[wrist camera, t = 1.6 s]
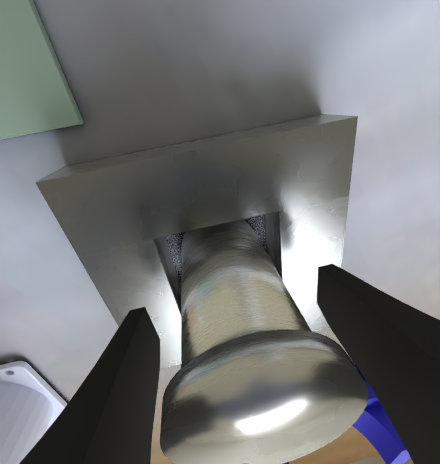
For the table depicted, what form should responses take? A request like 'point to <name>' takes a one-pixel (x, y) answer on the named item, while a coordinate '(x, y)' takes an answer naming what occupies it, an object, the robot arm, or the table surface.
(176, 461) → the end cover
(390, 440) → the blue bearing cradle
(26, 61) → the mat
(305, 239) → the socket block
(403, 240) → the table surface
